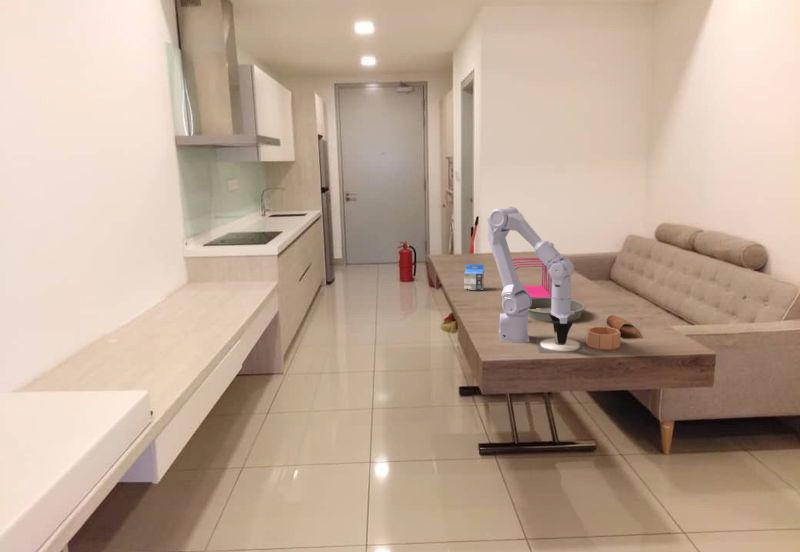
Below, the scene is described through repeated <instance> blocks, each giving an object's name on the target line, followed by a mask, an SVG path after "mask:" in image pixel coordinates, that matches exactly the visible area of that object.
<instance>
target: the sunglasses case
mask: <svg viewBox="0 0 800 552" xmlns="http://www.w3.org/2000/svg"><path fill="white" fill-rule="evenodd" d="M606 323H607V324H606V325H608V327H611V328H615V329H618V330H619V331H620V332H621V336H620V338H622V339H643V337H642V335H641V334H640V333H639V331H638V330H637V329H636V328H635V327H634V325H633V323H631V322H630V321H627V320H626V319H624V318H622V317H620V316H616V315H609V316H608V317H607V319H606Z"/></svg>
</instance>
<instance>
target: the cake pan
mask: <svg viewBox="0 0 800 552" xmlns="http://www.w3.org/2000/svg"><path fill="white" fill-rule="evenodd" d="M551 299H552V297H542V298H532V304H531V306H530V308H528V317H529V318H532V319H531V320H533V319H535V320H534V321H537V320H539V321H538V322H544V321H545V322H546V323H553V322H552V319H551V317H550V314H551ZM536 308H541V309H542V310H541V309H540V311H537V310H532V309H536ZM586 308H587V307H586V304H584V303H583V302H581V301H579V300H575V299H571V300H570V311H574V314H571V315H570V316H569V317H568V318H567V322H573V321H576V320H578V319H580V318H581V317H582V316H581V315H582V312H583V311H584V310H585V309H586ZM529 318H528V319H529Z"/></svg>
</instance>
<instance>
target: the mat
mask: <svg viewBox="0 0 800 552" xmlns="http://www.w3.org/2000/svg"><path fill="white" fill-rule="evenodd" d="M534 339H535V338H534ZM542 340H545V338H544V339H541V338H536V339H535V343H536V347H537V351H538V353H539V354H574V355H575V354H576V355H578V354H579V355H581V354H585V355H587V352H586V349H585V348H584V346H583V344H582V342H581V341H580V339H573V340H574V341H576V342H578V343H579V344H580V348H579V349H578V350H576V351H572V352H554V351H549V350H546V349H543V348H542V347H541V346H540V342H541V341H542Z"/></svg>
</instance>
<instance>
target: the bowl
mask: <svg viewBox="0 0 800 552" xmlns="http://www.w3.org/2000/svg"><path fill="white" fill-rule="evenodd" d="M585 331H586V332H585V333H586V337H585V340H586V341H585V343H586V345H587V347H590V348H592V349H593V348H594V349H597V350H615V349H618V348H620V347H621V337H620V336H621V332H620V331H619V330H618V329H615V328H611V327H610V326H598V325H597V326H591V327H587V328H586V330H585Z"/></svg>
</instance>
